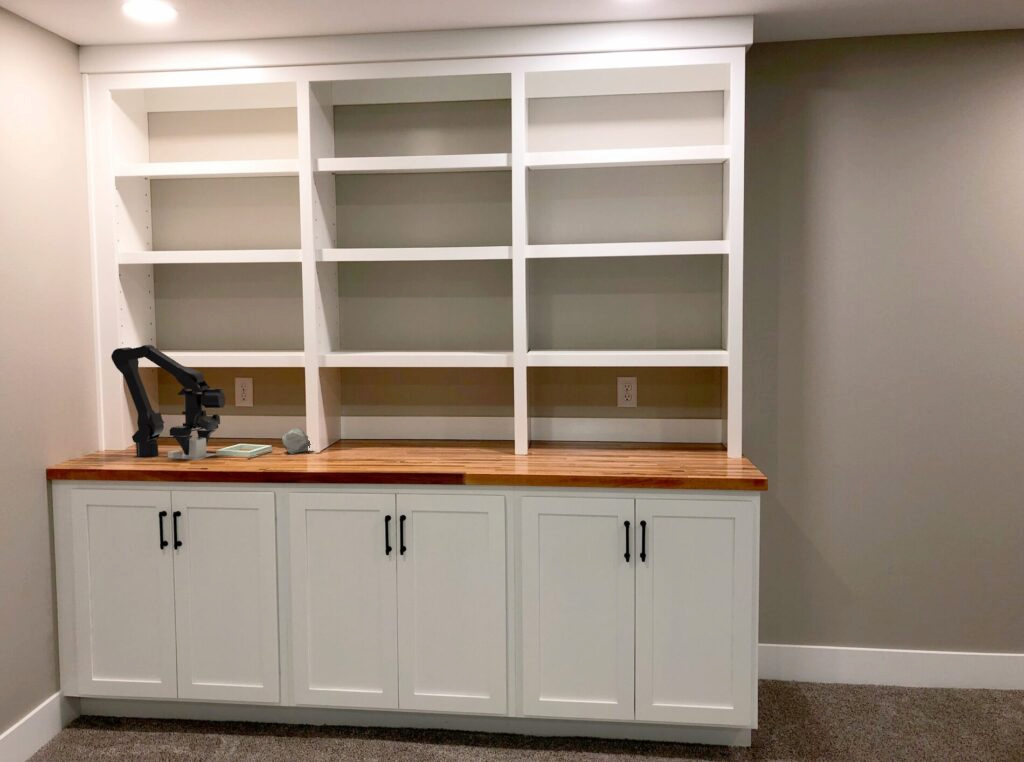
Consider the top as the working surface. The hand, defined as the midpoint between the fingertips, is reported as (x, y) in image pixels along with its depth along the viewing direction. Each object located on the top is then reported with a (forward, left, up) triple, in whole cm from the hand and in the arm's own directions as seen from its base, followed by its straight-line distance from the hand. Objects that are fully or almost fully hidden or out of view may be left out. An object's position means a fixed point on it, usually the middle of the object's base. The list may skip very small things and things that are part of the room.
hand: (195, 452), depth 291 cm
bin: (+12, +11, -2) cm, 16 cm away
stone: (+27, +20, -2) cm, 34 cm away
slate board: (-1, 0, -2) cm, 2 cm away
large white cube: (0, 0, -1) cm, 1 cm away
